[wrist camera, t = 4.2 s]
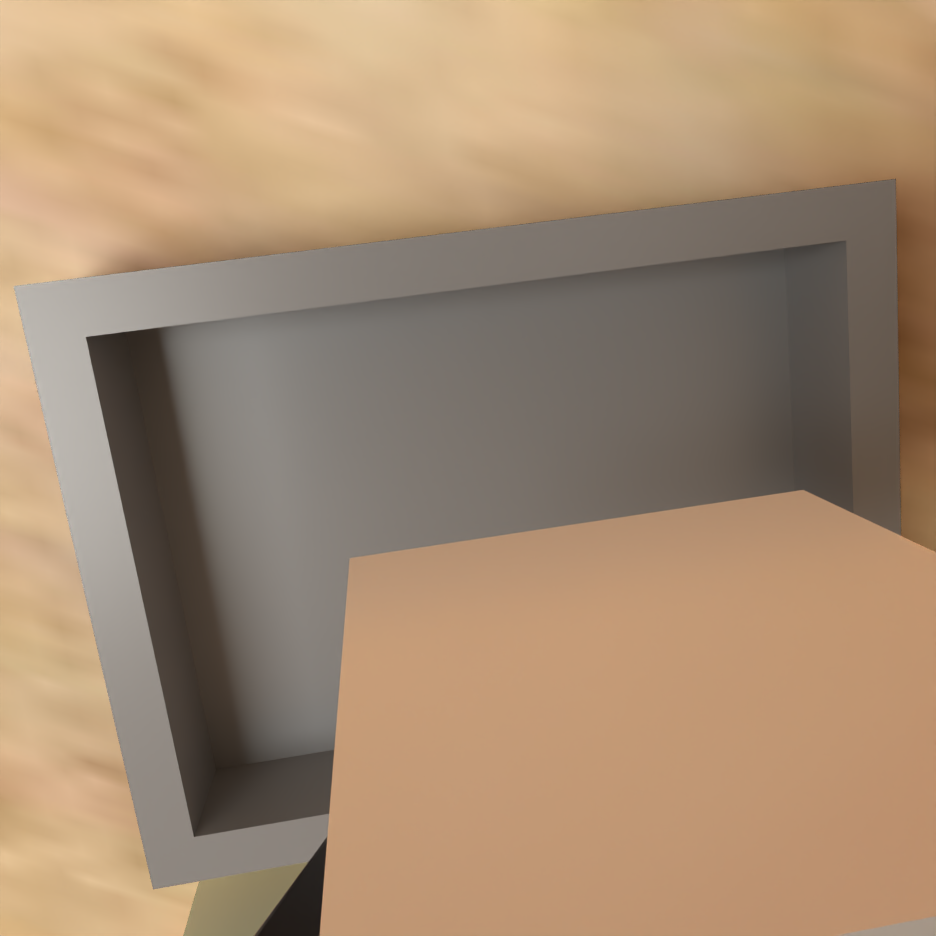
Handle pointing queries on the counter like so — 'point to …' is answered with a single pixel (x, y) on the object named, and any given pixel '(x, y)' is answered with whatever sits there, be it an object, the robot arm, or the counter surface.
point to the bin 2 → (424, 449)
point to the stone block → (640, 731)
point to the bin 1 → (239, 901)
